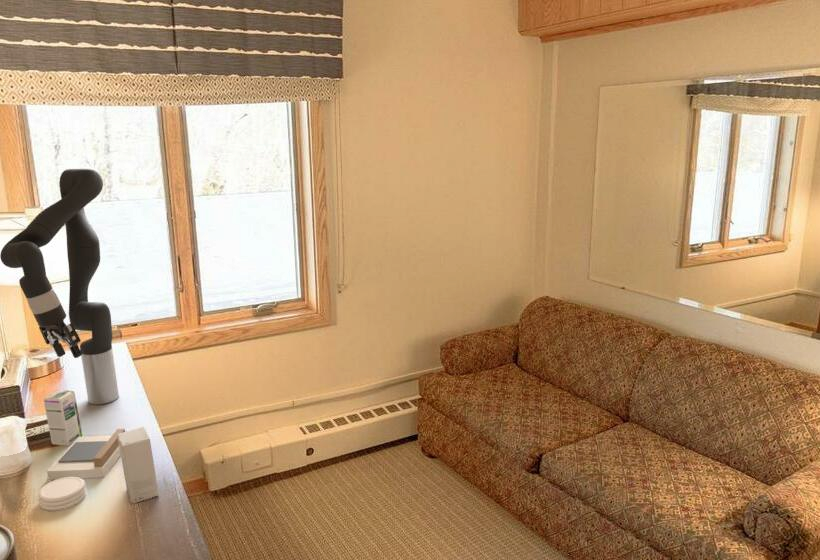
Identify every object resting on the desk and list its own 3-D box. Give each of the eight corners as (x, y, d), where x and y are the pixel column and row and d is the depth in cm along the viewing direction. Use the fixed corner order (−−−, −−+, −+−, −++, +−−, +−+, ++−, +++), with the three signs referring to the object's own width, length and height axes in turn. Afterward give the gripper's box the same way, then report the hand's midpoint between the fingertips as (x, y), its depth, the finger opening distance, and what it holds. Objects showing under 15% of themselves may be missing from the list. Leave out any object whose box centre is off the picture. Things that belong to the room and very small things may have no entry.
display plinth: (80, 444, 181) (77, 428, 179) (130, 442, 181) (127, 427, 180) (48, 479, 163) (45, 462, 162) (104, 477, 164) (101, 460, 163)
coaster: (38, 516, 148) (36, 503, 148) (42, 494, 157) (39, 482, 156) (86, 505, 153) (84, 492, 152) (86, 484, 161) (84, 472, 160)
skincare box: (159, 496, 155) (151, 439, 151) (130, 505, 152) (121, 446, 148) (152, 480, 162) (145, 425, 158) (124, 489, 159) (116, 432, 155)
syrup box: (69, 446, 180) (61, 399, 176) (50, 444, 181) (42, 397, 178) (82, 436, 185) (75, 390, 182) (65, 434, 187) (57, 389, 183)
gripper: (72, 301, 182) (95, 350, 187) (44, 301, 189) (67, 349, 195) (48, 313, 176) (72, 363, 181) (20, 313, 183) (45, 361, 189)
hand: (70, 356), depth 188 cm, fingers open, 8 cm apart
